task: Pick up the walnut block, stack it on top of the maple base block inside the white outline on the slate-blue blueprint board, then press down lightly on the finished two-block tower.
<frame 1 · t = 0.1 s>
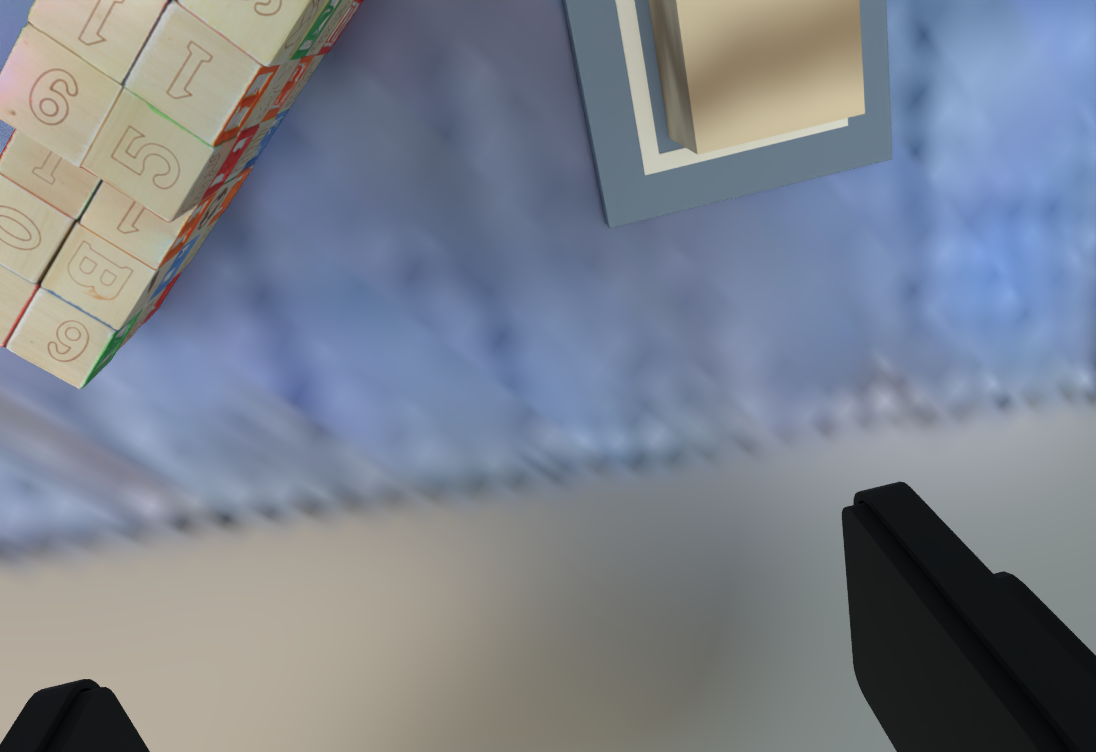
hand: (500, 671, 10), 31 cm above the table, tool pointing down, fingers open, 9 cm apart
stack of blocks: (214, 92, 36), on the table
maple base block: (733, 40, 36), point 1 cm above the table, touching blueprint board
blueprint board: (725, 39, 37), on the table
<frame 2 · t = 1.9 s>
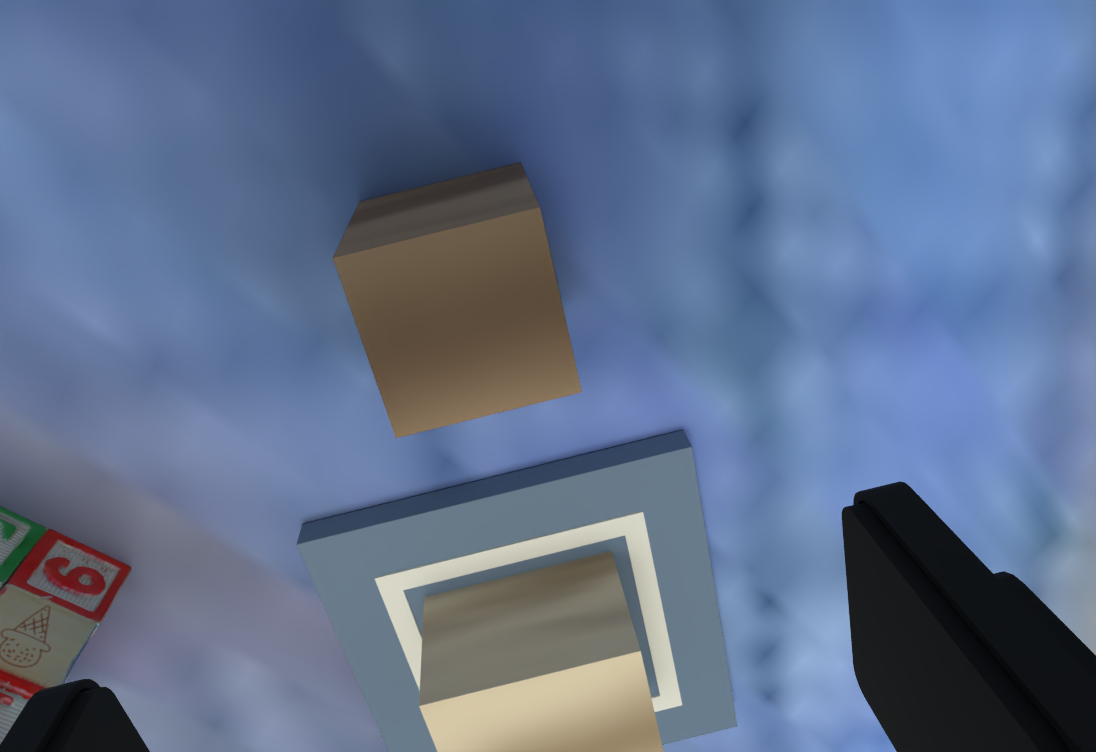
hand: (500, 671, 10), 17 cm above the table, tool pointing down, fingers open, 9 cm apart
maple base block: (539, 644, 31), point 1 cm above the table, touching blueprint board
walnut block: (461, 259, 25), on the table
blueprint board: (536, 622, 32), on the table
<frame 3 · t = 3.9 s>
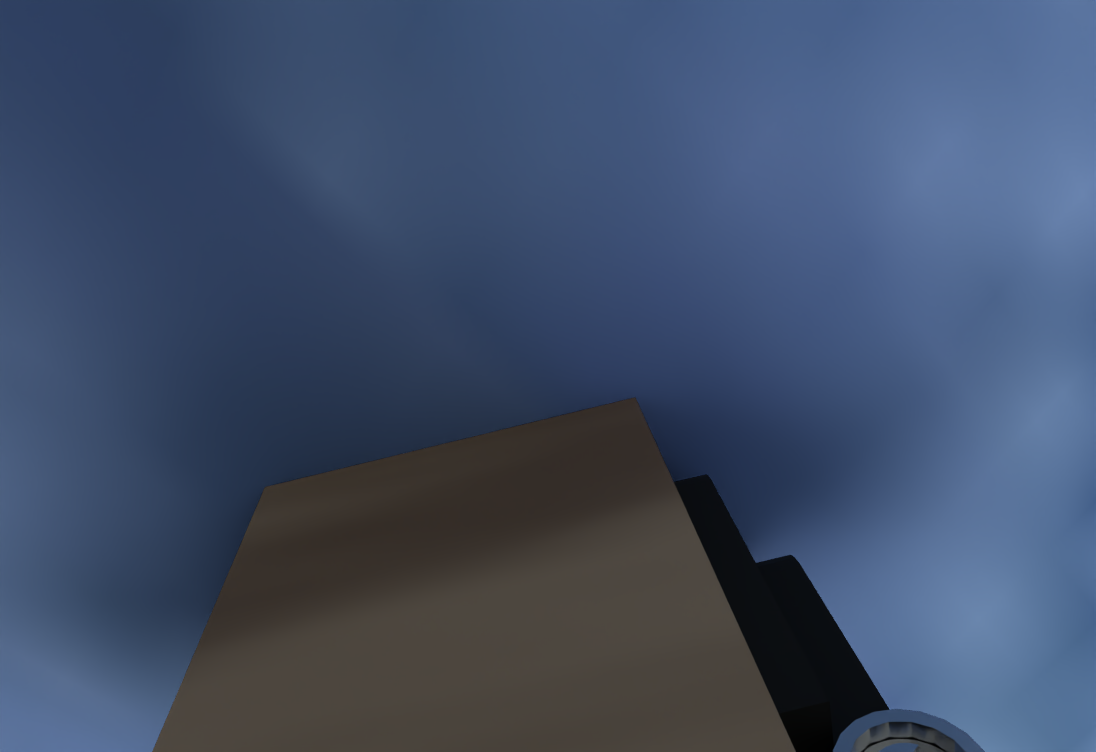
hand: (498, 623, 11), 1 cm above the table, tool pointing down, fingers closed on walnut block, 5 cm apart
walnut block: (496, 589, 12), on the table, touching gripper
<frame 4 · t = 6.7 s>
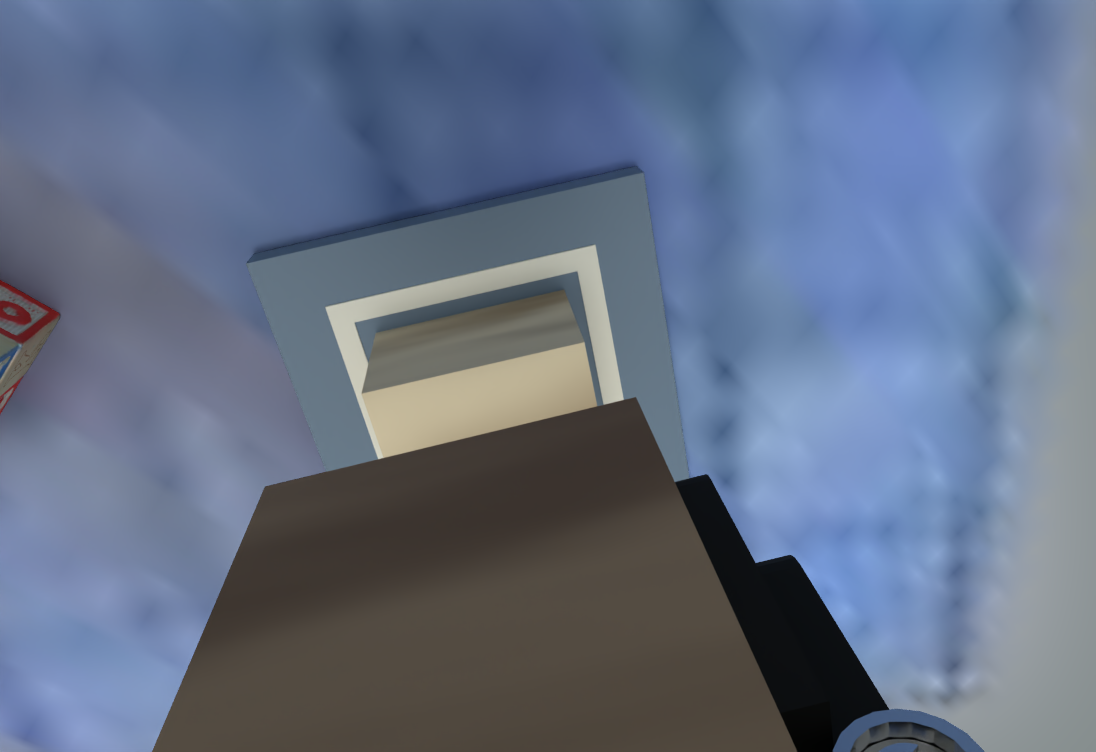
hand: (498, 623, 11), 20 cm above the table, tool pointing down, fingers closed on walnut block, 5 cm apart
maple base block: (492, 395, 30), point 1 cm above the table, touching blueprint board
walnut block: (496, 589, 12), point 19 cm above the table, touching gripper
blueprint board: (490, 381, 32), on the table
when the fingers open (8 cm above the table, at t = 9.6 s): walnut block drops 1 cm, resting on maple base block.
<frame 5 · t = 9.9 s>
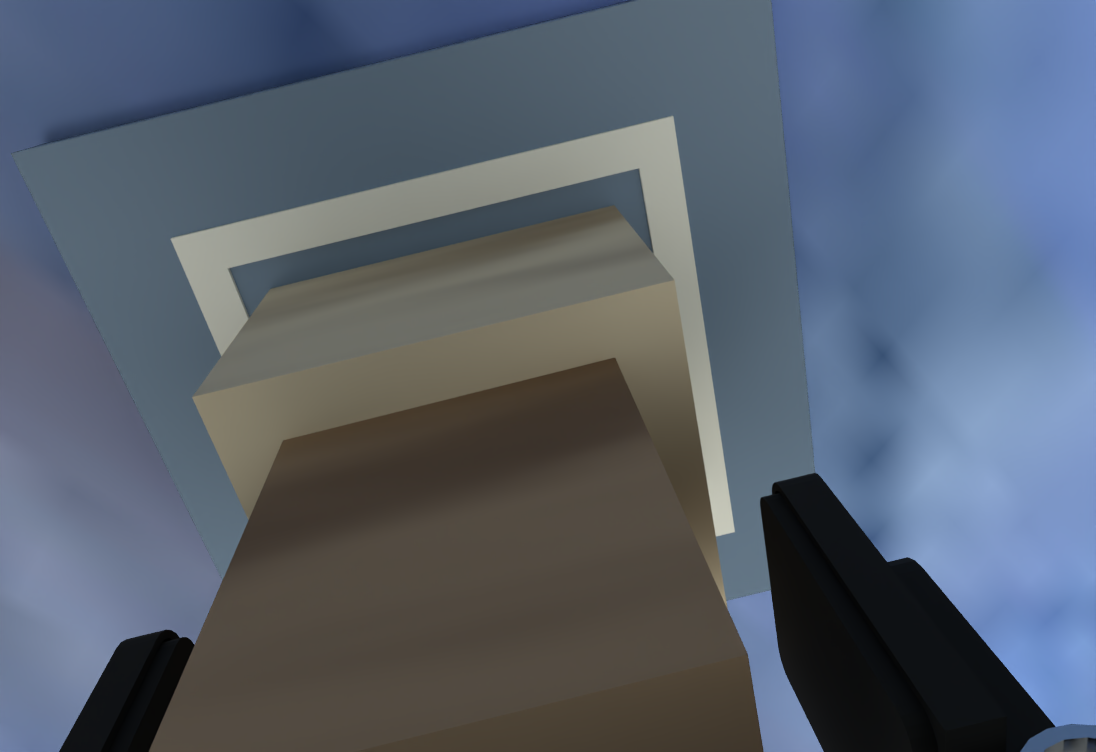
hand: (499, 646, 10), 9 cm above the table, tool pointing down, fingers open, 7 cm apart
maple base block: (485, 401, 17), point 1 cm above the table, touching blueprint board, walnut block
walnut block: (492, 535, 13), point 6 cm above the table, touching maple base block
blueprint board: (484, 378, 18), on the table
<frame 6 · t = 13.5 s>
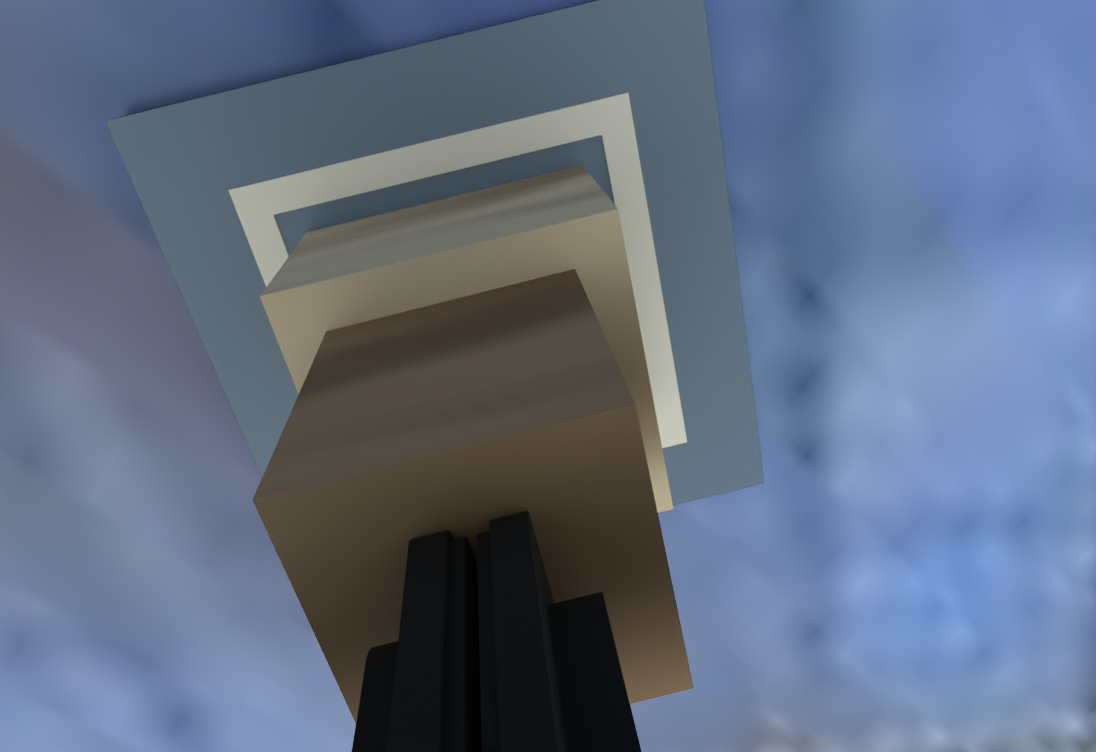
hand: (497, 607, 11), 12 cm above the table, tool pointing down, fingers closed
maple base block: (480, 327, 21), point 1 cm above the table, touching blueprint board, walnut block
walnut block: (483, 410, 17), point 6 cm above the table, touching gripper, maple base block
blueprint board: (479, 311, 22), on the table
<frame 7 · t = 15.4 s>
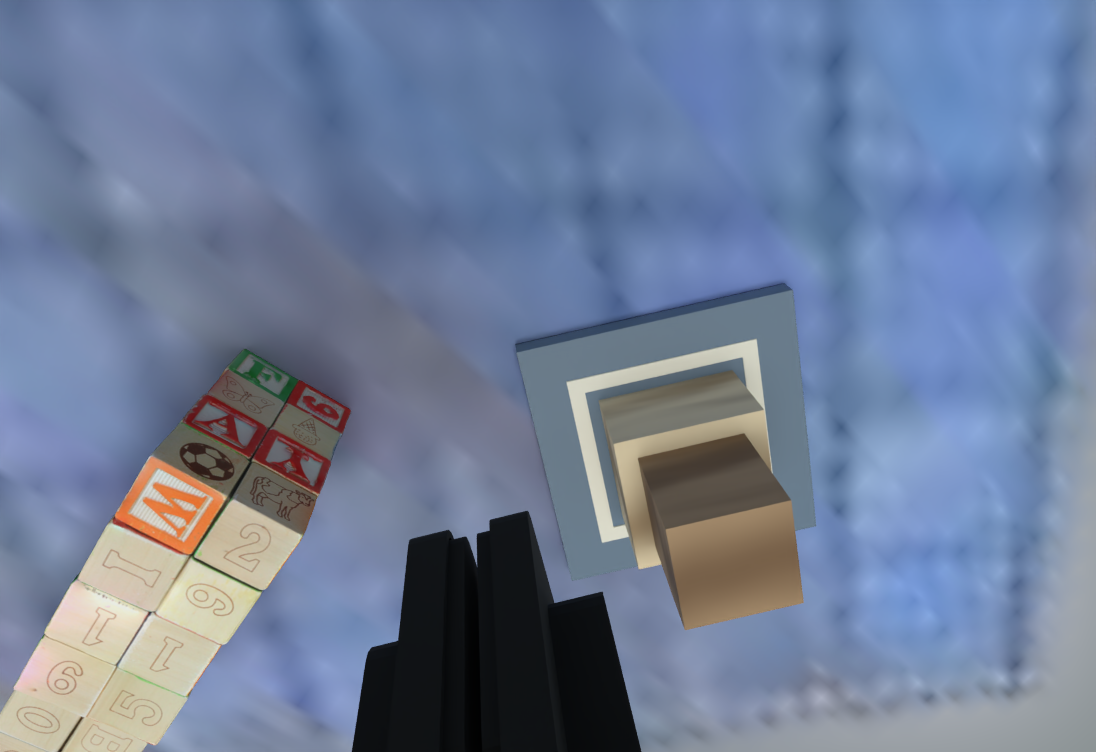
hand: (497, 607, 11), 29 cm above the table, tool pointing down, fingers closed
stack of blocks: (201, 525, 44), on the table
maple base block: (675, 444, 42), point 1 cm above the table, touching blueprint board, walnut block
walnut block: (698, 491, 38), point 6 cm above the table, touching maple base block
blueprint board: (670, 434, 43), on the table
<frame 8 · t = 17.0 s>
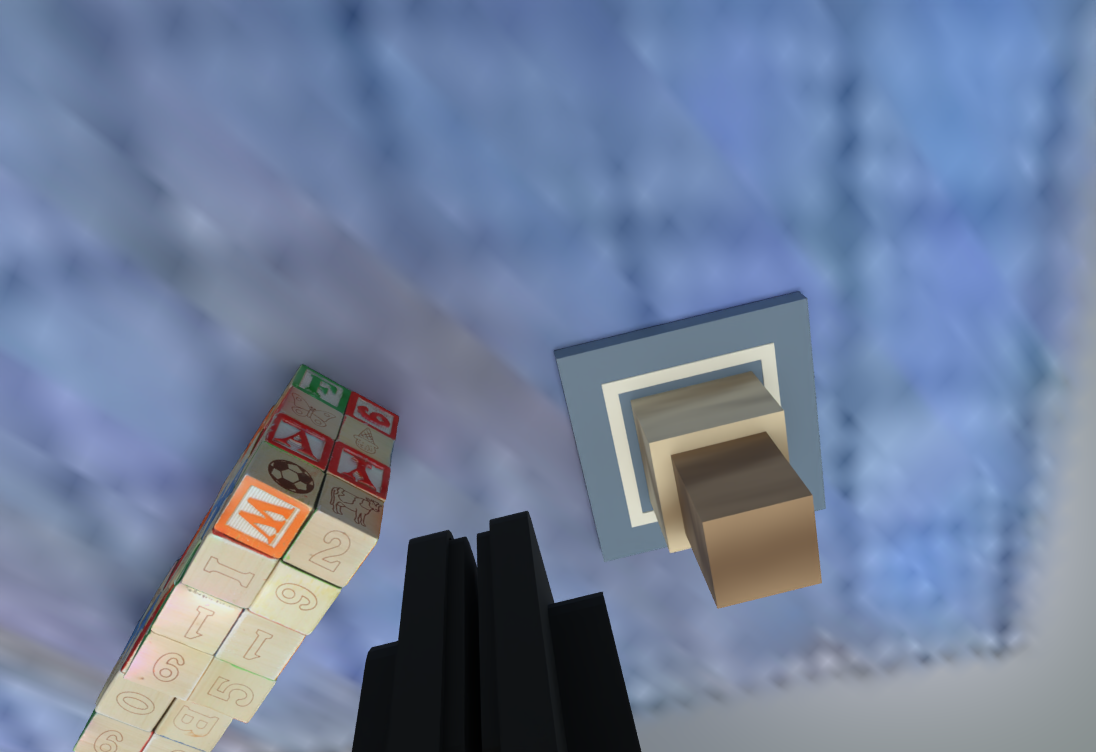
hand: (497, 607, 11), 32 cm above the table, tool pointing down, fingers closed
stack of blocks: (262, 522, 48), on the table
maple base block: (699, 438, 46), point 1 cm above the table, touching blueprint board, walnut block
walnut block: (724, 483, 42), point 6 cm above the table, touching maple base block
blueprint board: (694, 428, 47), on the table
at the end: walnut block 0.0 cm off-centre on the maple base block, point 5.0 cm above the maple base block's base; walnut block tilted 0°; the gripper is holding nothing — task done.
